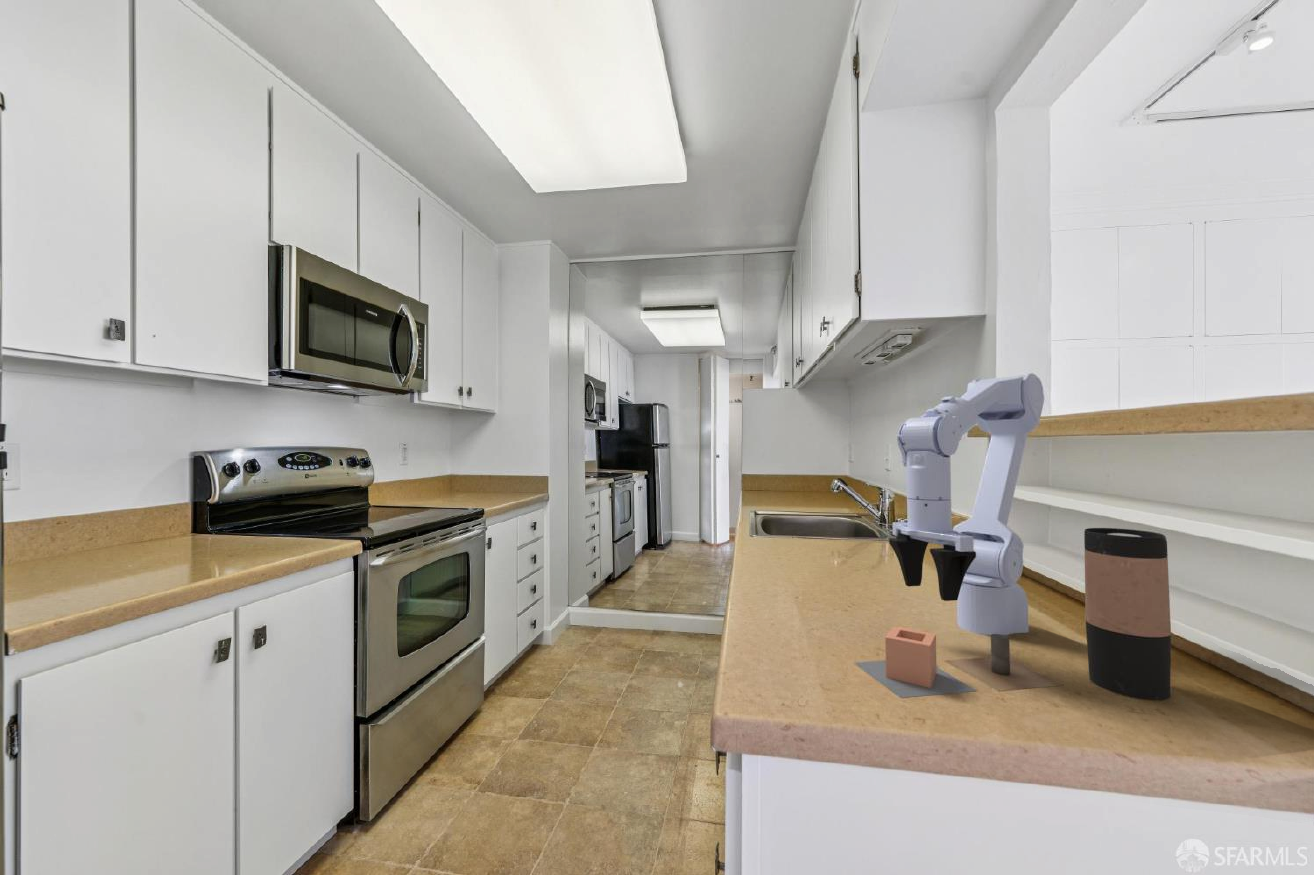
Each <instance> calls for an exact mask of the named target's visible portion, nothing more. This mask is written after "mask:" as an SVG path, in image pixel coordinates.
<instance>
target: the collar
mask: <svg viewBox="0 0 1314 875" xmlns="http://www.w3.org/2000/svg"><path fill="white" fill-rule="evenodd" d="M885 660H886V677H887V678H891V679H895V680H899V681H903V682H908V683H912V684H916V685H920V686H924V687H929V688H931V686H932V684H933V681H934V679H935V676H936V674H937V633H932V632H927V631H922V630H916V629H912V628H911V629H910V628H905V627H901V626H900V627H899V626H893V627H892V628H891V629H890V630H889V632H888V633H887V635H886V636H885Z"/></svg>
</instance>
